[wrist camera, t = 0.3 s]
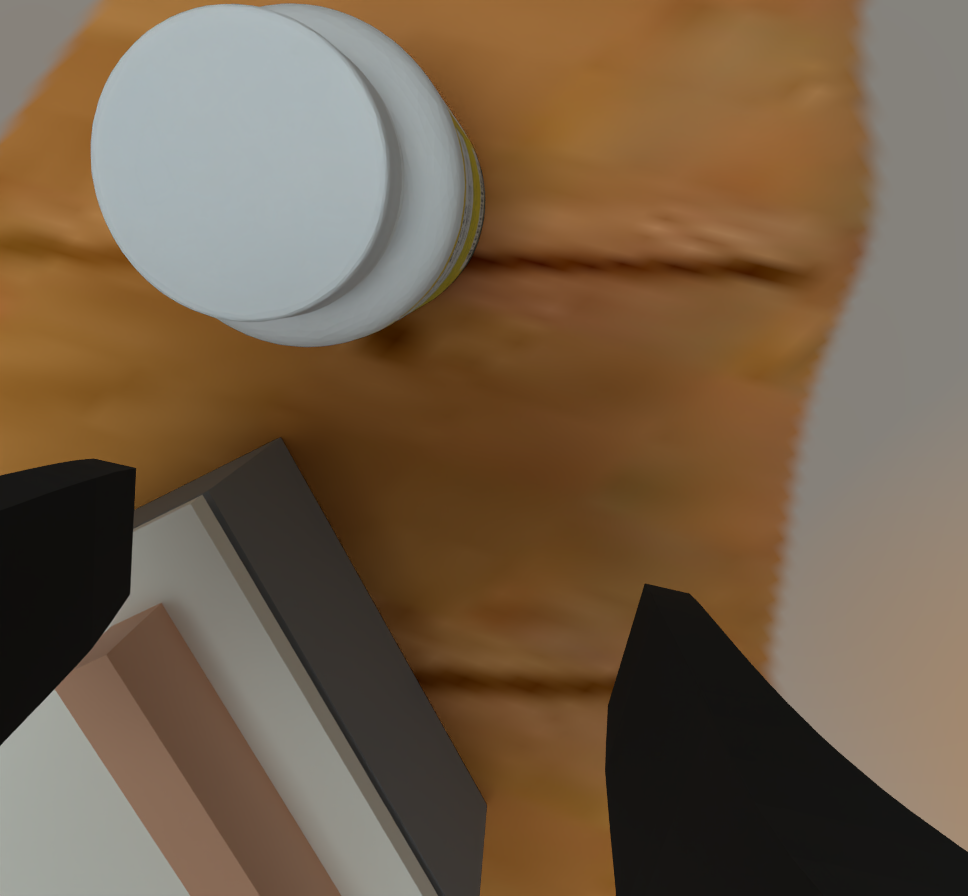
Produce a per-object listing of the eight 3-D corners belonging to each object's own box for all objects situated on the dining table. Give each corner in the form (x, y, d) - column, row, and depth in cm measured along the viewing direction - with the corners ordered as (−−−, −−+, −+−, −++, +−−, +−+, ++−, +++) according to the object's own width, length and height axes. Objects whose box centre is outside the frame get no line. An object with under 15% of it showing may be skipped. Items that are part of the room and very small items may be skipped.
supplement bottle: (221, 176, 20) (-51, 111, 11) (399, 35, 19) (270, -174, 10) (354, 358, 21) (209, 447, 12) (531, 231, 20) (529, 215, 11)
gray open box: (-17, 1008, 27) (-140, 1177, 22) (-245, 699, 25) (-437, 809, 20) (487, 805, 24) (475, 946, 19) (280, 437, 22) (208, 490, 17)
